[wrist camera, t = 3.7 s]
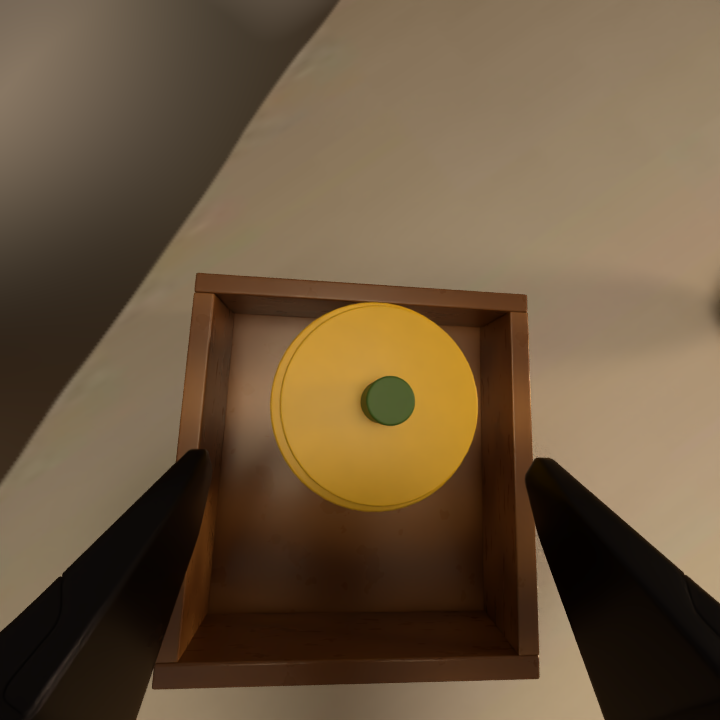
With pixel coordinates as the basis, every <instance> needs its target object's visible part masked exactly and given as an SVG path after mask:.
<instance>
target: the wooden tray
mask: <svg viewBox="0 0 720 720" xmlns="http://www.w3.org/2000/svg"><path fill="white" fill-rule="evenodd" d="M195 292H196V293H194V298H193V308H192V317H191V326H190V336H189V345H188V354H187V363H186V373H185V382H184V391H183V401H182V410H181V419H180V428H179V438H178V447H177V456H176V462H177V461H178V460H179V459H180V458H181V457H182V456H183V455H184V454H185V453H186V452H187V451H188V450H190V449H206V450H207V451H208V453H209V457H210V461H211V465H212V470H213V472H212V479H211V483H210V488H209V492H208V497H207V501H206V506H205V510H204V515H203V519H202V524H201V528H200V532H199V536H198V539H197V542H196V545H195V548H194V551H193V554H192V557H191V560H190V563H189V566H188V569H187V571H186V574H185V577H184V580H183V583H182V586H181V589H180V592H179V595H178V598H177V601H176V604H175V607H174V610H173V613H172V615H171V618H170V621H169V624H168V627H167V630H166V633H165V636H164V639H163V642H162V645H161V648H160V651H159V654H158V657H157V660H156V662H155V665H154V672H153V681H152V689H189V688H226V687H262V686H299V685H335V684H371V683H408V682H444V681H481V680H517V679H539V657H538V655H539V634H538V604H537V574H536V544H535V521H534V517H533V513H532V509H531V505H530V501H529V498H528V494H527V490H526V486H525V474H526V472H527V471H528V469H529V467H530V466H531V464H532V462H533V454H532V424H531V394H530V364H529V334H528V313H526V312H527V295H523V294H508V293H493V292H478V291H463V290H448V289H433V288H417V287H402V286H387V285H372V284H357V283H342V282H327V281H312V280H296V279H281V278H266V277H251V276H236V275H221V274H206V273H197V274H196V281H195ZM366 302H379V303H389V304H394V305H399V306H402V307H405V308H408V309H411V310H413V311H415V312H417V313H419V314H421V315H423V316H425V317H426V318H428V319H429V320H431V321H433V322H434V323H435V324H437V325H438V326H439V327H440V328H441V329H443V330H444V331H445V332H446V333H447V334H448V335H449V336H450V337H451V338H452V339H453V340H454V342H455V343H456V344H457V346H458V347H459V348H460V350H461V351H462V353H463V354H464V356H465V358H466V360H467V362H468V364H469V366H470V369H471V371H472V374H473V377H474V381H475V385H476V389H477V397H478V417H477V425H476V429H475V433H474V437H473V440H472V443H471V445H470V448H469V450H468V452H467V454H466V456H465V457H464V459H463V461H462V463H461V464H460V466H459V467H458V469H457V470H456V471H455V473H454V474H453V475H452V477H451V478H450V479H449V480H448V481H447V482H446V483H445V484H444V485H443V486H442V487H440V488H439V489H438V490H437V491H435V492H434V493H433V494H431V495H430V496H428V497H426V498H425V499H423V500H421V501H419V502H417V503H415V504H412V505H410V506H407V507H404V508H400V509H396V510H392V511H383V512H363V511H357V510H351V509H348V508H345V507H341V506H338V505H336V504H333V503H331V502H329V501H327V500H325V499H323V498H322V497H320V496H319V495H317V494H316V493H314V492H313V491H311V490H310V489H309V488H308V487H307V486H306V485H304V484H303V483H302V482H301V481H300V480H299V479H298V478H297V476H296V475H295V474H294V473H293V472H292V471H291V469H290V468H289V466H288V464H287V463H286V461H285V460H284V458H283V456H282V454H281V452H280V450H279V448H278V446H277V442H276V439H275V436H274V433H273V428H272V423H271V414H270V399H271V389H272V385H273V380H274V376H275V373H276V371H277V368H278V365H279V363H280V361H281V359H282V357H283V355H284V353H285V351H286V350H287V348H288V347H289V346H290V344H291V343H292V341H293V340H294V339H295V338H296V337H297V336H298V335H299V333H300V332H301V331H302V330H303V329H305V328H306V327H307V326H308V325H309V324H311V323H312V322H313V321H315V320H316V319H318V318H319V317H321V316H322V315H324V314H326V313H328V312H330V311H333V310H335V309H338V308H341V307H344V306H347V305H351V304H357V303H366Z"/></svg>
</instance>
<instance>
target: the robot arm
mask: <svg viewBox="0 0 720 720" xmlns="http://www.w3.org/2000/svg"><path fill="white" fill-rule="evenodd" d="M212 472H213V470H212V465H211V461H210V457H209V453H208V451H207V450H206V449H190V450H188V451H187V452H186V453H185V454H184V455H183V456H182V457H181V458H180V459H179V460H178V461H177V462H176V463H175V464H174V465H173V466H172V467H171V468H170V469H169V470H168V471H167V472H166V473H165V474H164V475H163V476H162V477H161V478H160V479H159V480H158V481H156V482H155V483H154V484H153V485H152V486H151V487H150V488H149V489H148V490H147V491H146V492H145V493H144V494H143V495H142V496H141V497H140V498H139V499H138V500H137V501H136V502H135V503H134V504H133V505H132V506H131V507H130V508H129V509H128V510H127V511H126V512H125V513H124V514H123V515H122V516H121V517H120V518H119V519H118V520H117V521H116V522H115V523H114V524H113V525H112V526H111V527H110V528H108V529H107V530H106V531H105V532H104V533H103V534H102V535H101V536H100V537H99V538H98V539H97V540H96V541H95V542H94V543H93V544H92V545H91V546H90V547H89V548H88V549H87V550H86V551H85V552H84V553H83V554H82V555H81V556H80V557H79V558H78V559H77V560H76V561H75V562H74V563H73V564H72V565H71V566H70V567H69V568H68V569H67V570H66V571H65V572H64V573H63V574H62V577H58V578H57V579H56V580H55V581H54V582H53V583H52V584H51V585H50V586H49V587H48V588H47V589H46V590H45V591H44V592H43V593H42V594H41V595H40V596H39V597H38V598H37V599H36V600H35V601H33V602H32V603H31V604H30V605H29V606H28V607H27V608H26V609H25V610H24V611H23V612H22V613H21V614H20V615H19V616H18V617H17V618H15V619H14V620H13V621H12V622H11V623H10V624H9V625H8V626H7V627H5V628H4V629H3V630H2V631H1V632H0V720H136V718H137V715H138V712H139V709H140V706H141V704H142V701H143V698H144V695H145V692H146V689H147V686H148V683H149V680H150V677H151V674H152V671H153V668H154V665H155V662H156V660H157V657H158V654H159V651H160V648H161V645H162V642H163V639H164V636H165V633H166V630H167V627H168V624H169V621H170V618H171V615H172V613H173V610H174V607H175V604H176V601H177V598H178V595H179V592H180V589H181V586H182V583H183V580H184V577H185V574H186V571H187V569H188V566H189V563H190V560H191V557H192V554H193V551H194V548H195V545H196V542H197V539H198V536H199V532H200V528H201V524H202V519H203V515H204V510H205V506H206V501H207V497H208V492H209V488H210V483H211V479H212ZM525 486H526V490H527V494H528V498H529V501H530V505H531V509H532V513H533V517H534V521H535V525H536V529H537V533H538V536H539V539H540V542H541V545H542V548H543V550H544V553H545V556H546V559H547V562H548V564H549V567H550V570H551V573H552V575H553V578H554V581H555V584H556V586H557V589H558V592H559V595H560V598H561V600H562V603H563V606H564V609H565V611H566V614H567V617H568V620H569V622H570V625H571V628H572V631H573V634H574V636H575V639H576V642H577V645H578V647H579V650H580V653H581V656H582V658H583V661H584V664H585V667H586V669H587V672H588V675H589V678H590V681H591V683H592V686H593V689H594V692H595V694H596V697H597V700H598V703H599V705H600V708H601V711H602V714H603V717H604V719H605V720H720V603H719V602H717V601H716V600H715V599H714V598H713V597H712V596H710V595H709V594H708V593H707V592H706V591H704V590H703V589H702V588H701V587H700V586H699V585H697V584H696V583H695V582H694V581H693V580H692V579H691V578H689V577H688V576H687V575H684V573H683V572H682V571H681V570H680V569H679V568H678V567H677V566H675V565H674V564H673V563H672V562H671V561H670V560H669V559H667V558H666V557H665V556H664V555H663V554H662V553H660V552H659V551H658V550H657V549H656V548H655V547H654V546H652V545H651V544H650V543H649V542H648V541H647V540H645V539H644V538H643V537H642V536H641V535H640V534H639V533H637V532H636V531H635V530H634V529H633V528H632V527H630V526H629V525H628V524H627V523H626V522H625V521H624V520H622V519H621V518H620V517H619V516H618V515H617V514H615V513H614V512H613V511H612V510H611V509H610V508H609V507H607V506H606V505H605V504H604V503H603V502H602V501H600V500H599V499H598V498H597V497H596V496H595V495H594V494H592V493H591V492H590V491H589V490H588V489H587V488H586V487H584V486H583V485H582V484H581V483H580V482H579V481H577V480H576V479H575V478H574V477H573V476H572V475H571V474H569V473H568V472H567V471H566V470H565V469H564V468H562V467H561V466H560V465H559V464H558V463H557V462H556V461H554V460H553V459H551V458H536V459H535V460H534V461H533V462H532V464H531V466H530V467H529V469H528V471H527V472H526V474H525Z"/></svg>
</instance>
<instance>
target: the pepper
mask: <svg viewBox="0 0 720 720" xmlns="http://www.w3.org/2000/svg"><path fill="white" fill-rule="evenodd" d="M270 414H271V423H272V428H273V433H274V436H275V439H276V442H277V446H278V448H279V450H280V452H281V454H282V456H283V458H284V460H285V461H286V463H287V464H288V466H289V468H290V469H291V471H292V472H293V473H294V474H295V475H296V476H297V478H298V479H299V480H300V481H301V482H302V483H303V484H304V485H306V486H307V487H308V488H309V489H310V490H311V491H313V492H314V493H316V494H317V495H319V496H320V497H322V498H323V499H325V500H327V501H329V502H331V503H333V504H336V505H338V506H341V507H345V508H348V509H351V510H357V511H363V512H383V511H392V510H396V509H400V508H404V507H407V506H410V505H412V504H415V503H417V502H419V501H421V500H423V499H425V498H426V497H428V496H430V495H431V494H433V493H434V492H435V491H437V490H438V489H439V488H440V487H442V486H443V485H444V484H445V483H446V482H447V481H448V480H449V479H450V478H451V477H452V475H453V474H454V473H455V471H456V470H457V469H458V467H459V466H460V464H461V463H462V461H463V459H464V457H465V456H466V454H467V452H468V450H469V448H470V445H471V443H472V440H473V437H474V433H475V429H476V425H477V417H478V397H477V389H476V385H475V381H474V377H473V374H472V371H471V369H470V366H469V364H468V362H467V360H466V358H465V356H464V354H463V353H462V351H461V350H460V348H459V347H458V346H457V344H456V343H455V342H454V340H453V339H452V338H451V337H450V336H449V335H448V334H447V333H446V332H445V331H444V330H443V329H441V328H440V327H439V326H438V325H437V324H435V323H434V322H433V321H431V320H429V319H428V318H426V317H425V316H423V315H421V314H419V313H417V312H415V311H413V310H411V309H408V308H405V307H402V306H399V305H394V304H389V303H379V302H366V303H357V304H351V305H347V306H344V307H341V308H338V309H335V310H333V311H330V312H328V313H326V314H324V315H322V316H321V317H319V318H318V319H316V320H315V321H313V322H312V323H311V324H309V325H308V326H307V327H306V328H305V329H303V330H302V331H301V332H300V333H299V335H298V336H297V337H296V338H295V339H294V340H293V341H292V343H291V344H290V346H289V347H288V348H287V350H286V351H285V353H284V355H283V357H282V359H281V361H280V363H279V365H278V368H277V371H276V373H275V376H274V380H273V385H272V389H271V399H270Z"/></svg>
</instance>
